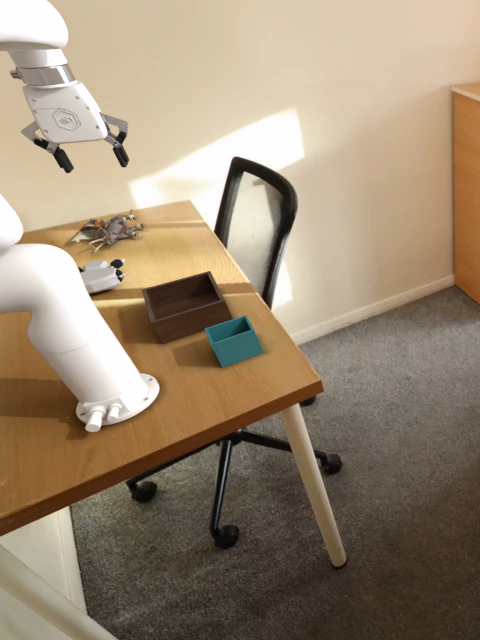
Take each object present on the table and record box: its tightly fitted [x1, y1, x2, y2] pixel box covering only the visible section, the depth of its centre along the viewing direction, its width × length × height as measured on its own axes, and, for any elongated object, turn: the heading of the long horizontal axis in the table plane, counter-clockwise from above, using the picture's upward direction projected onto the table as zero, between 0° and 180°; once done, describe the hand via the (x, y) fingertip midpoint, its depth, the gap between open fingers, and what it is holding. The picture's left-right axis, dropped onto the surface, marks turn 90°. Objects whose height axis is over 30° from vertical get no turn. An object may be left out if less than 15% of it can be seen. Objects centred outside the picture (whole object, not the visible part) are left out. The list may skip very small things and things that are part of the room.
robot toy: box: [77, 258, 126, 295], centre depth 116 cm, size 12×4×15 cm
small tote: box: [204, 314, 264, 368], centre depth 97 cm, size 8×6×6 cm
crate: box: [141, 270, 234, 345], centre depth 106 cm, size 16×14×6 cm
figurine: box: [67, 208, 146, 254], centre depth 134 cm, size 20×6×17 cm
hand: (98, 168), depth 99 cm, fingers open, 9 cm apart
